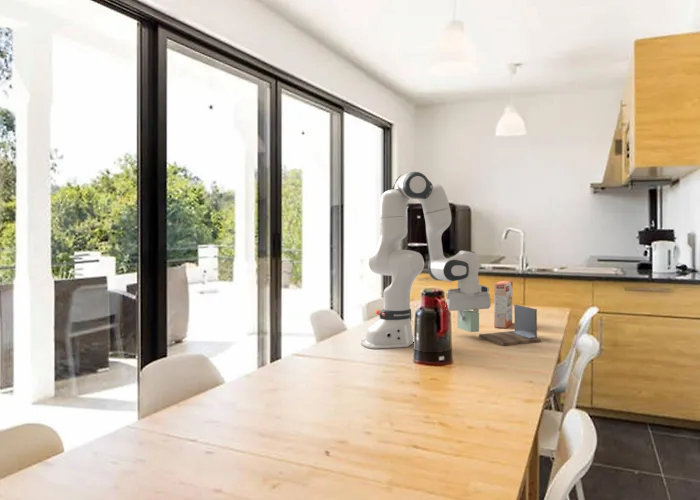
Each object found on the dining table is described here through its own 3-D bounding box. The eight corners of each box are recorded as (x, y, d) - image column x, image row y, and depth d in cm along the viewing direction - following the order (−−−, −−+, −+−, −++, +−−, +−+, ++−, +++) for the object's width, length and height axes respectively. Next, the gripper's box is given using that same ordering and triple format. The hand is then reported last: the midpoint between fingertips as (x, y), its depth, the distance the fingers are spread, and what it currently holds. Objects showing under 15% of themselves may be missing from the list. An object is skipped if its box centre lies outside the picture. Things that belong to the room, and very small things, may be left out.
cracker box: (507, 328, 241) (506, 283, 240) (493, 327, 244) (493, 283, 243) (513, 323, 253) (513, 280, 252) (500, 322, 256) (500, 280, 255)
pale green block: (470, 332, 219) (470, 313, 219) (457, 327, 229) (457, 309, 229) (479, 331, 220) (479, 312, 220) (465, 327, 231) (465, 309, 230)
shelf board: (503, 346, 208) (503, 343, 208) (479, 337, 225) (479, 334, 225) (541, 341, 214) (541, 338, 214) (514, 333, 231) (514, 330, 231)
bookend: (529, 338, 214) (528, 309, 214) (508, 332, 228) (508, 305, 227) (536, 338, 215) (536, 309, 215) (516, 331, 229) (515, 304, 228)
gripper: (450, 289, 218) (450, 322, 218) (492, 287, 224) (492, 319, 225) (442, 288, 224) (442, 320, 224) (484, 286, 230) (484, 317, 231)
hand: (468, 320), depth 225 cm, fingers closed on pale green block, 4 cm apart
